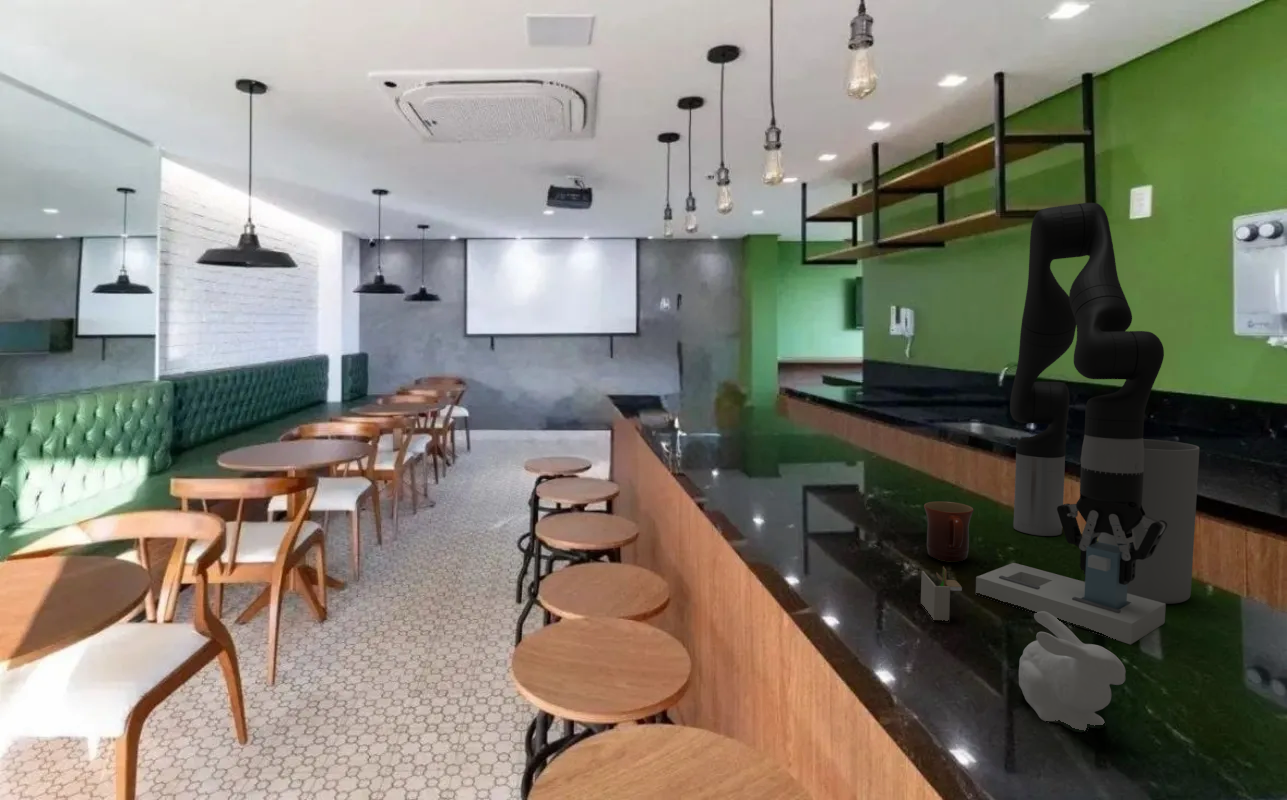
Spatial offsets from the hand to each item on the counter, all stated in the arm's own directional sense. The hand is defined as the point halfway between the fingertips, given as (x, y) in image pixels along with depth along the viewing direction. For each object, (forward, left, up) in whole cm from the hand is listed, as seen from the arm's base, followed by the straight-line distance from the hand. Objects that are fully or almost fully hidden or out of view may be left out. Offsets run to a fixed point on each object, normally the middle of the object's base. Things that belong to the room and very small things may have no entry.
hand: (1106, 578), depth 96 cm
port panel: (0, -6, -7) cm, 9 cm away
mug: (-6, -29, -7) cm, 30 cm away
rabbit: (+32, +8, -7) cm, 34 cm away
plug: (0, 0, -4) cm, 4 cm away
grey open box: (+18, -16, -7) cm, 25 cm away
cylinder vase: (-18, -2, -7) cm, 19 cm away
